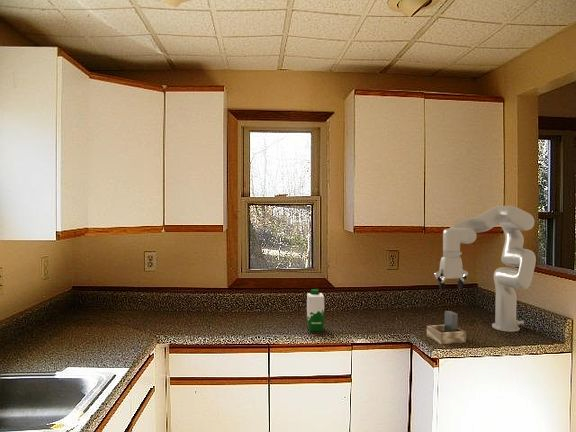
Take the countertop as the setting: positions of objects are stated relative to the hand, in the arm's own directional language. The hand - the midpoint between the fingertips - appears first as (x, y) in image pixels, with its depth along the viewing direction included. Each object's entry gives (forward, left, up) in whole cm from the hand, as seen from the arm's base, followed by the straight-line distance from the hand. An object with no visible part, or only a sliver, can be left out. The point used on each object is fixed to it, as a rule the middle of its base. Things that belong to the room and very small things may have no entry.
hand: (451, 290), depth 191 cm
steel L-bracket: (+3, 0, -23) cm, 23 cm away
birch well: (+3, 0, -23) cm, 24 cm away
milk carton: (+60, -27, -24) cm, 70 cm away
